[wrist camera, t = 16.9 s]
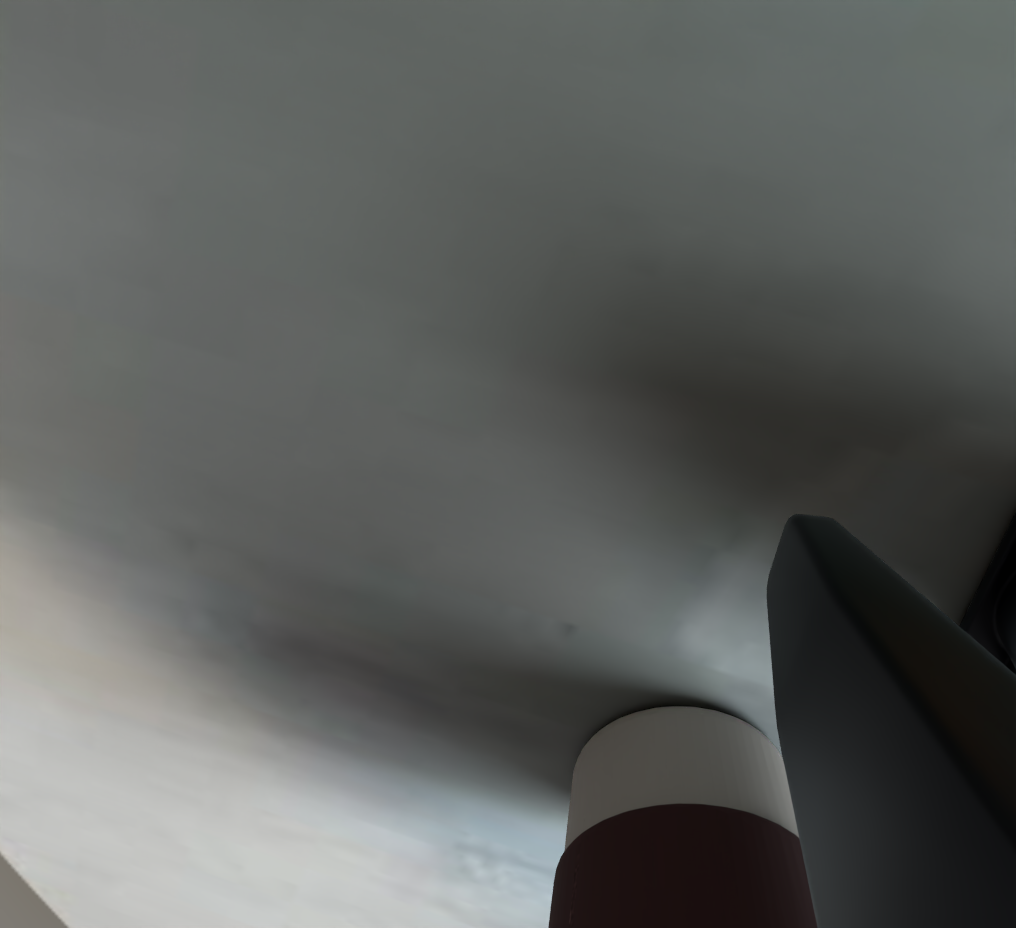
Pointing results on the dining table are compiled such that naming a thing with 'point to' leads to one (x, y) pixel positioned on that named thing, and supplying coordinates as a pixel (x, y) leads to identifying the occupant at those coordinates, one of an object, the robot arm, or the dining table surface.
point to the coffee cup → (681, 829)
